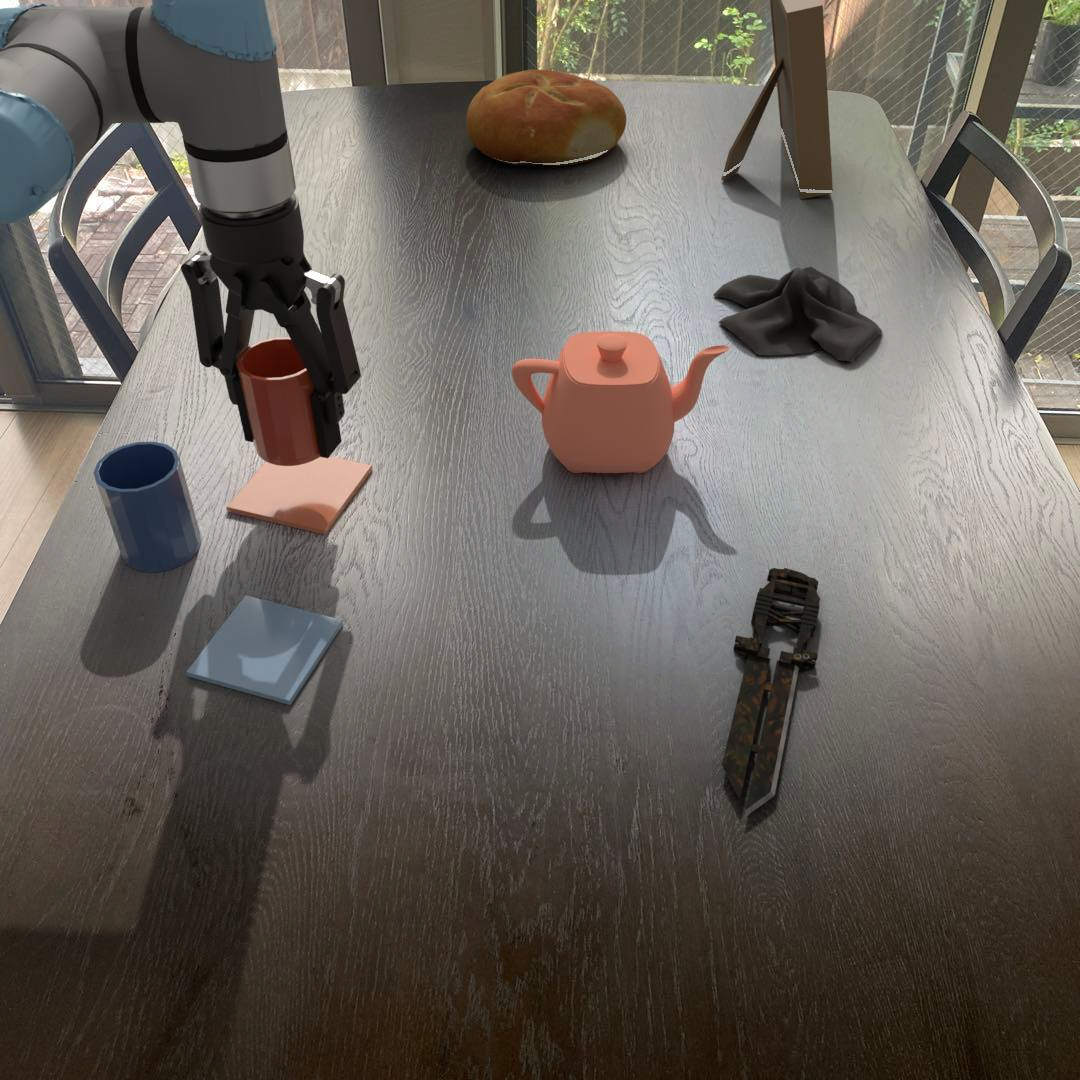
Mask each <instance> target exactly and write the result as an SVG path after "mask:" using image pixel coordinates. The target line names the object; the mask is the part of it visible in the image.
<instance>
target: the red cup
mask: <svg viewBox="0 0 1080 1080" xmlns="http://www.w3.org/2000/svg"><path fill="white" fill-rule="evenodd" d="M236 365H237V369H238V374H239V378H240V383H241V388H242V392H243V397H244V401H245V406H246V410H247V415H248V420H249V424H250V429H251V433H252V438H253V442H252V444H253V445H254V448H255V452H256V454H257V456H258V457H259V458H260V459H261V460H263V461H264V462H265V461H266V462H268V463H271V464H274V465H279V466H296V465H301V464H305V463H308V462H311V461H313V460H315V459H317V458H319V457H320V452H319V446H318V440H317V434H316V428H315V423H314V417H313V411H312V405H311V399H310V395H311V394H312V393H313V392H314V391H315V390H316V387H315V385H314V383H313V381H312V379H311V377H310V375H309V373H308V372H307V370H306V368H305V366H304V364H303V362H302V360H301V358H300V356H299V354H298V352H297V350H296V348H295V346H294V344H293V342H292V340H291V339H290V337H289V336H283V337H280V336H279V337H278V336H277V337H270V338H267V339H263V340H259V341H256V342H254V343H253V344H251V345H249V346H248V347H247V348H246V349H245V350H244V351H243V352H242V353H241V354H240V355H239V356H238V360H237V364H236Z"/></svg>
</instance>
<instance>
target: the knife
mask: <svg viewBox="0 0 1080 1080" xmlns="http://www.w3.org/2000/svg"><path fill="white" fill-rule="evenodd" d="M766 581H767V582H768V583H766V585H765V586H764V587H759V590H758V591H757V595H756V599H755V602H754V607H753V610H752V617H751V620H750V623H751V624H752V625H753V630H752V636H749V637H745V636H740V635H735V638H734V645H733V651H734V652H735V653H736V654H738V655H739V656H740V657H741V659H743V661H746V663H745V666H744V669H743V670H744V671H743V674H742V679H741V683H740V687H739V692H738V696H737V699H736V703H735V708H734V712H733V716H732V720H731V724H730V728H729V733H728V737H727V741H726V746H725V749H724V753H723V758H722V761H721V766H722V768H723V770H724V773H725V774H726V776H727V778H728V780H729V782H730V784H731V786H732V787H733V790H734V792H735V793H736V795H737V797H738V799H739V800H741V796H742V792H743V788H744V783H745V778H746V773H747V769H748V766H749V765H748V764H749V760H750V755H751V753H754V754H756V758H755V762H754V767H753V772H752V777H751V781H750V787H749V791H748V796H747V801H746V805H745V809H744V815H743V819H745V818H747V817H748V816H749V815H750V814H753V812H754V811H756V810H757V809H758V808H760V807H762V806H763V805H764V804H765V803H767V802H768V801H770V800H771V799H772V798H774V797H776V790H777V785H778V780H779V775H780V769H781V764H782V759H783V754H784V750H785V749H784V748H785V745H786V744H785V743H786V738H787V733H788V729H789V723H790V717H791V713H792V707H793V702H794V695H795V691H796V685H797V680H798V675H799V674H800V673H803V672H808V671H811V670H814V669H815V668H816V665H817V660H818V656H819V654H818V653H816V652H811V651H807V648H808V645H809V640H810V639H811V638H814V636H815V633H816V632H815V631H816V627H817V622H818V617H819V611H820V606H821V605H820V601H821V598H820V596H819V595H818V587H819V580H817V578H815V577H811V576H808V575H807V574H804V573H803V572H801V571H798V570H794V569H791V568H787V567H783V568H777V567H773V568H769V570H768V574H767V579H766ZM776 584H779V585H784V586H789V587H790V588H789V590H787V589H782V588H778V587H776ZM794 588H797V592H796V591H794ZM774 593H777V594H781V595H786V596H790V597H791V596H792V597H796V598H800V599H805V600H804V601H802V600H798V599H797V600H796V599H793V598H788V597H784V596H779V595H774ZM773 601H776V602H781V603H786V604H789V605H793V606H798V607H803V609H802V610H799V609H794V608H790V607H787V606H786V607H785V606H782V605H776V604H772V603H773ZM790 617H800V619H792V618H790ZM769 619H771V620H772V621H769ZM766 627H785V628H787V629H789V630H791V631H793V632H794V633H796V634H798V636H797V641H796V646H794V647H793V651H792V652H788V651H783V650H780V654H779V659H778V660H777V659H776V663H775V668H774V673H773V677H772V682H769V681H767V677H768V672H769V668H770V665H771V664H770V662H771V658H769V656H770V651H771V648H770V647H766V646H763V641H764V635H765V631H766ZM764 691H765V692H769V696H768V702H767V705H766V709H765V710H766V711H765V716H764V720H763V724H762V728H761V729H762V730H761V734H760V739H759V743H758V744H755V743H753V742H754V736H755V733H756V728H757V723H758V720H759V719H758V718H759V714H760V710H761V704H762V700H763V696H764Z"/></svg>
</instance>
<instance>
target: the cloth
mask: <svg viewBox="0 0 1080 1080" xmlns="http://www.w3.org/2000/svg"><path fill="white" fill-rule="evenodd" d="M712 296H714V297H715V298H721V299H727V300H731V301H734V303H737V304H739V305H742V306H744V307H746V308H747V309H744V310H742V311H739V312H736V313H733V314H731V315H727V316H725V317H723V318H722V319H720V320H719V321H718V323H719V324H720V325H722V326H723V327H724V328H725V329H727V330H728V331H730V332H731V333H732V334H733V335H735V336H736V337H737V338H738V339H740V340H741V341H742V342H743V343H745V344H746V345H747V347H749V348H750V350H752V351H753V352H754V353H755V354H756V355H758V356H761V357H785V356H786V357H788V356H797V355H798V356H799V355H805V354H810V353H814V352H817V351H819V350H821V349H823V350H824V351H825V352H827V353H828V354H830V355H831V356H833V357H834V358H835V359H836V360H837V361H841V362H850V363H853V362H854V361H855V359H856V358H857V357H859V355H860V354H861V353H862V352H863V351H864V350H865V349H866V348H867V347H868V346H869V345H870V344H871V342H873V341H874V340H875V339H876V338H877V337H879V336H880V335H882V333H883V329H882V328H881V327H880V326H879V325H878V324H877V322H875V321H874V320H872V319H871V318H869V317H868V316H865V315H864V314H862V313H860V312H859V311H858V309H857V305H856V301H855V296H854V294H852V292H851V291H850V290H849V289H848V288H847V287H846V286H844V285H843V284H842V283H840V282H838V281H837V280H836V279H834V278H832V277H831V276H828V275H826V274H825V273H823V272H821V271H820V270H817V269H816V268H814V267H812V266H806V267H804V268H800V267H797V266H796V267H794V268H793V269H792V270H790V271H789V272H787V273H785V274H784V275H782V277H780V279H776V278H772V277H767V276H762V275H758V274H757V275H755V274H747V275H742V276H740V277H736V278H734V279H732V280H730V281H728V282H726V283H724V284H722V285H721V286H720V287H719V288H718V289H717V290H716V291H715V292H714V293H713V295H712Z"/></svg>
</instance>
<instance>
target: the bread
mask: <svg viewBox="0 0 1080 1080" xmlns="http://www.w3.org/2000/svg"><path fill="white" fill-rule="evenodd" d="M465 119H466V120H465V122H466V129H467V134H468V137H469V139H470V141H471V143H472V144H473V145H474V147H475V148H476V149H477V150H478V151H479V150H480V151H481V152H480V151H479V152H480V153H481V154H483V153H484V154H483V155H484V156H486V157H488V158H490V159H492V160H494V161H497V162H500V163H503V164H507V165H516V166H526V165H527V166H528V165H532V166H543V167H544V166H545V167H564V166H572V165H577V164H583V163H587V162H591V161H593V160H596V159H598V158H600V157H601V156H603V155H601V156H598V157H596V158H592V159H588V160H583V161H578V162H573V163H568V164H560V165H543V164H532V163H556V162H564V161H569V160H574V159H579V158H584V157H587V156H590V155H594V154H597V153H600V152H603V151H606V150H609V149H611V148H612V147H613V148H614V147H615V146H616V145H617V144H618V142H619V141H620V140H621V138H622V136H623V135H624V133H625V130H626V128H627V127H626V126H627V113H626V109H625V107H624V105H623V103H622V102H621V100H620V99H619V97H618V96H617V95H616V94H615V92H613V91H612V90H611V89H610V88H608V86H605V85H604V84H601V83H598V82H596V81H594V80H591V79H587V78H584V77H581V76H578V75H575V74H571V73H566V72H562V71H556V70H550V69H526V70H522V71H521V70H520V71H515V72H512V73H508V74H505V75H503V76H500V77H498V78H496V79H495V80H493V81H492V82H490V83H488V84H487V85H485V86H482V88H481V89H480V90H479V91H478V92H477V93H476V94H475V95H474V96H473V98H472V99H471V101H470V104H469V105H468V109H467V111H466V118H465ZM613 148H612V149H613ZM612 149H611V150H612ZM609 151H610V150H609ZM485 154H486V155H485ZM487 155H488V156H487ZM489 156H490V157H489ZM491 157H493V158H496V159H499V160H503V161H508V162H520V161H526V162H532V163H518V164H512V163H507V162H502V161H499V160H496V159H493V158H491Z"/></svg>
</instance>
